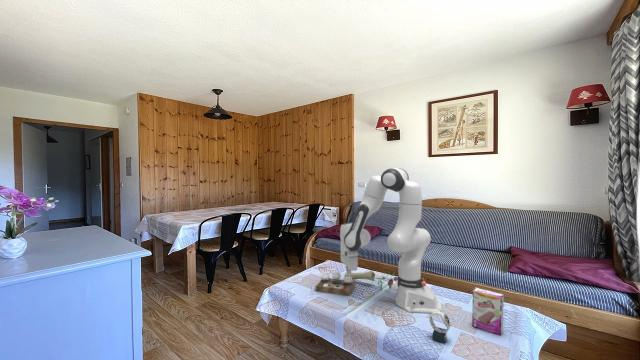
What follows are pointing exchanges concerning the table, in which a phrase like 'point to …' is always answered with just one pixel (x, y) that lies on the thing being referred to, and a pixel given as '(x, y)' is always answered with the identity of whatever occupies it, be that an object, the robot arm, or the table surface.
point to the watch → (440, 333)
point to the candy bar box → (488, 311)
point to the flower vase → (371, 277)
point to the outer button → (325, 277)
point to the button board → (335, 286)
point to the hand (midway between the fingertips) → (348, 273)
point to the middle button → (336, 275)
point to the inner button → (347, 279)
